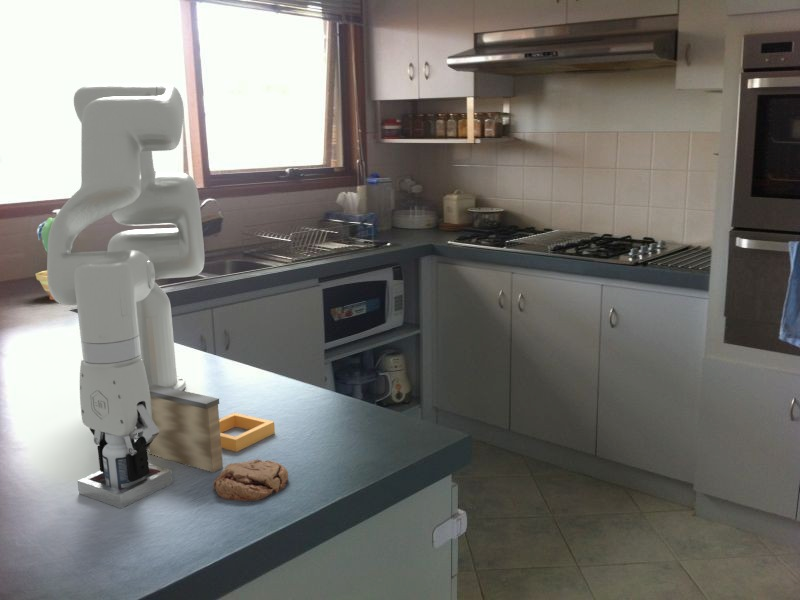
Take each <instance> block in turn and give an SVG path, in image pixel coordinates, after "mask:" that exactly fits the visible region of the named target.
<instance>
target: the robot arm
mask: <svg viewBox="0 0 800 600" xmlns="http://www.w3.org/2000/svg"><path fill="white" fill-rule="evenodd" d="M73 107H74V110H75V113H76V116H77V118H78V120H79V121H80V123H81V134H80V135H81V140H80V141H81V144H80V145H81V146H80V147H81V148H80V149H81V156H80V157H81V158H80V159H81V161H80V162H81V171H80V172H81V185H80V188H78V190H77V191H76V192H75V193H74V194H73V195H71V197H70V198H69V199H67V201H66V202H65V203H64V204H63V206H62V207H61V208H60V210H59V211H58V213H56V216H55V217H54V218H55V219H54V221H53V223H52V226H51V229H50V231H49V236H48V255H47V260H46V261H47V262H46V265H47V266H46V271H47V279H48V287H49V291H50V293H51V295H52V297H53V298H54V299H55V300H54V301H55V302H56V303H58V304H61V305H64V306H76V308H77V317H78V326H79V336H80V343H81V344H80V346H81V353H82V359H81V360H80V367H79V368H80V369H79V402H80V403H79V404H80V416H81V421H82V423H83V425H84V426H85V427H86V428H89V430H90V431H91V432H90V433H92V435H93V442H94V444H95V446H97V456H98V457H97V458H98V465H99V471H101V472H104V464H103V453H102V451H103V448H104V447H105V446H106V445H107V444H108V443H107V442H106V440H105V433H108V434H111V435H115V436H119V437H124V439H125V442H126V445H127V448H128V452H129V454H126V463H127V472H128V480H129V481H131V482H133V481H136V480H138V479H140V478H142V477H144V476H146V475H148V474H149V464H150V463H149V456H148V454H149V452H148V450H149V448H150V444H151V442H152V441H153V439H154V438H155V437H156V436H157V435H158V434H159V430H158V428H157V426H156V425H155V423H154V422H153V420H152V405H151V397H150V391H149V386H152V385H159V386H164V387H168V388H173V389H177V390H182V391H184V390H185V388H186V386H187V384H186V379H185V378H184V377H183V376H179V375H177V374H178V373H177V364H176V354H175V353H176V351H175V342H174V341H175V339H174V329H173V318H172V308H171V307H172V306H171V301H170V298H169V297H168V295H167V293H166V292H165V291H164V290H163V288H161V286H159V285H158V284H157V282H156V280H161V279H175V278H176V279H177V278H178V279H179V278H188V277H189V278H191V277H195V276H198V275H199V274H200V273H202V271H203V270H204V267H205V261H206V259H205V245H204V243H205V242H204V234H203V232H204V231H203V224H202V214H201V205H200V204H201V203H200V202H201V201H200V196H199V195H200V194H199V191H198V187H197V184H196V181H195V180H194V178H193V177H192V176H191V175H189V174H188V173H184V172H180V171H179V172H177V171H176V172H175V171H171V172H156V170H155V168H154V163H153V162H154V159H153V152H162V151H163V152H165V151H173V150H174V149H176V148H177V147H178V145H179V144H180V141H181V139H182V133H183V132H182V131H183V125H184V117H185V116H184V115H185V111H184V102H183V98H182V95H181V93H180V91H179V90H178V88H177V87H176V86H175V85H172V84H171V83H170V84H169V83H103V84H101V83H99V84H91V85H85V86H82V87H80V88H79V89H77V90H76V92H75V93H74V96H73ZM110 215H111V216H112V218H113V219H114V221H115V222H116V223H118V224H120V225H124V226H157V225H158V226H159V225H173V226H175V227H169V228H142V229H141V228H139V229H129V230H122V231H120V232H118V233H116V234H114V235H113V236H112V237H111V238H110V239H109V241H108V244H107V250H99V251H97V250H96V251H81V252H79V251H78V252H72V249H71V247H72V248H73V245H74V241H75V240H76V238H77V237H78V235H79V234H80V233H81V232H82V231H83V230H85V229H86V228H88V226H91V225H92V224H93V223H95V222H97V221H99V220H101V219H102V218H104V217H107V216H110ZM72 244H73V245H72ZM135 434H136V435H137V437H138V438H137V439H136V440H137V441H136V442H134V439H133V436H132V435H135Z"/></svg>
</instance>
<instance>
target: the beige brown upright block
mask: <svg viewBox="0 0 800 600" xmlns="http://www.w3.org/2000/svg"><path fill="white" fill-rule="evenodd" d="M149 391H150V397H151V405H152V420H153V422H154V423H155V425H156V426H157V428H158V430H159V434H158V435H157V436H156V437H155V438H154V439H153V441H152V442H151V444H150V448H149V449H148V454H149V455H150V454H152V455H151V456H154V455H155V456H154V457H157V456H158V457H159V458H161V457H162V459H164V458H165V459H164V460H168V461H171V462H175V461H176V462H175V463H178V462H179V463H178V464H181V463H182V464H183V465H185V464H186V465H185V466H188V465H189V466H188V467H192V466H193V467H192V468H195V467H196V469H199V468H200V469H199V470H202V469H204V470H203V471H206V470H207V471H206V472H209V471H210V473H213V472H214V473H215V472H218V471H219V470H221V469H224V465H223V453H222V452H223V451H222V448H221V437H220V424H219V419H220V413H219V411H220V410H219V405H220V398H217V397H213V396H210V395H209V396H208V395H204V394H199V393H195V392H190V391H187V390H186V391H185V390H177V389H173V388H168V387H164V386H159V385H152V386H149Z"/></svg>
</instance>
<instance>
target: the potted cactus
mask: <svg viewBox="0 0 800 600" xmlns="http://www.w3.org/2000/svg"><path fill="white" fill-rule="evenodd" d="M54 219H55V217H48V218H47V220H45V221H43V222H42V223H40V224H39V225H38V227H37V229H36V234H37V239H38V241H41V240H42V245H43V249H45V252H46V253H47V255H48V236H49V231H50V229H51V226H52V223H53V221H54ZM73 245H74V243H73V244H72V247H71V250H72V249H73ZM35 278H36V281H39V282H40V285H41V286H42V289H43V290H44V292H46V294H47V295H49V300H51V301H52V300H53V301H56V300H55V299H54V298H53V297H52V295H51V293H50V291H49V287H48V279H47V270H42V271H39V272H37V273H36V272H35Z"/></svg>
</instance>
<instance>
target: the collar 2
mask: <svg viewBox="0 0 800 600" xmlns="http://www.w3.org/2000/svg"><path fill="white" fill-rule="evenodd" d="M219 424H220V437H221V449H225V450H229V451H233V452H239V451H241V450H243V449H245V448H247V447H249V446H251V445H253V444H255V443H257V442H259V441H262V440H263V439H266V438H268V437H269V436H272V435H275V434H276V431H275V430H276V429H275V421H273V420H269V419H264V418H260V417H255V416H251V415H246V414H243V413H238V412H233V413H230V414H227V415H226V416H223V417H221V418H219ZM235 427H236V428H239V429H240V428H241V429H245V430H246V431H244V432H242V433H240V434H238V435H236V436H234V435H231V434H227V433H224V432H226V431H229V430H231V429H234V428H235Z"/></svg>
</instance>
